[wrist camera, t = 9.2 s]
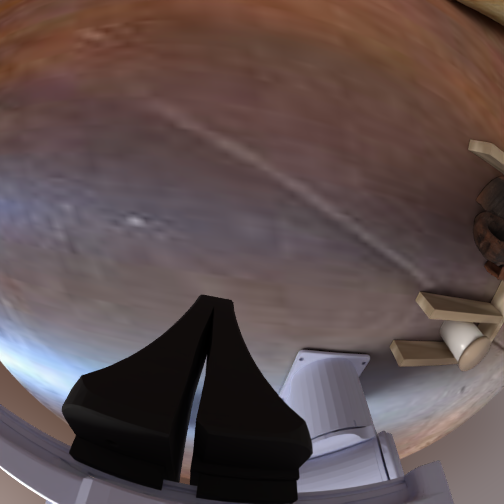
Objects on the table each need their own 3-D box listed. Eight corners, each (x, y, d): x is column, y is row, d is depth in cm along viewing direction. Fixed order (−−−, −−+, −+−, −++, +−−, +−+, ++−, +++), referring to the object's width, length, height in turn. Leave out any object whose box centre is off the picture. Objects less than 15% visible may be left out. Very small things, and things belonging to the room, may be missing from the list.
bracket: (467, 347, 26) (478, 361, 23) (389, 346, 25) (399, 366, 22) (535, 191, 17) (552, 199, 14) (470, 139, 16) (492, 143, 13)
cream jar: (454, 339, 25) (475, 369, 20) (432, 339, 25) (453, 372, 20) (472, 310, 23) (496, 338, 18) (450, 307, 23) (476, 339, 18)
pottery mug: (515, 167, 17) (563, 221, 12) (483, 228, 24) (520, 279, 19) (467, 173, 15) (536, 253, 10) (427, 253, 22) (472, 322, 17)
